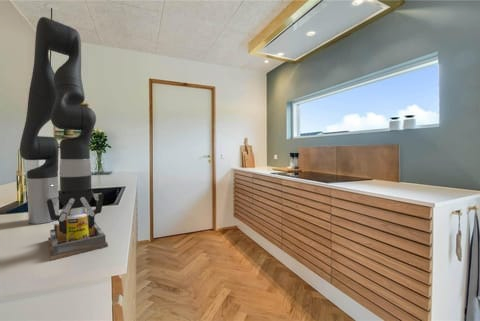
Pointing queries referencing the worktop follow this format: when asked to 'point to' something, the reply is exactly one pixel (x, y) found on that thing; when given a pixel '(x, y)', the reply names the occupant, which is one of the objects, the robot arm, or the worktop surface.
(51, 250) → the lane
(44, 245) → the worktop surface
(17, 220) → the worktop surface
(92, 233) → the board
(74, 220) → the supplement bottle
